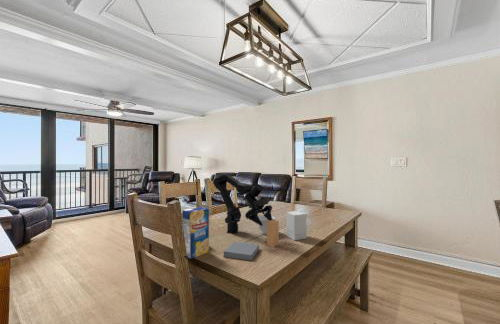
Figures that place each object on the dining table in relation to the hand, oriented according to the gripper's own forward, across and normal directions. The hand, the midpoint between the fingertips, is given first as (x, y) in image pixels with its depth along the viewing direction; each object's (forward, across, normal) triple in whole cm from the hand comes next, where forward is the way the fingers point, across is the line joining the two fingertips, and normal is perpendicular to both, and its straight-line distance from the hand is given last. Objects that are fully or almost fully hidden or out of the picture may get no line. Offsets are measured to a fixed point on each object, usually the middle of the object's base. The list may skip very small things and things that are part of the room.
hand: (267, 223), depth 130 cm
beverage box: (-4, -36, +19) cm, 41 cm away
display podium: (+7, -20, +8) cm, 22 cm away
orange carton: (+10, 0, +5) cm, 11 cm away
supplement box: (+12, +20, +3) cm, 23 cm away
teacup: (-1, +15, +17) cm, 22 cm away
